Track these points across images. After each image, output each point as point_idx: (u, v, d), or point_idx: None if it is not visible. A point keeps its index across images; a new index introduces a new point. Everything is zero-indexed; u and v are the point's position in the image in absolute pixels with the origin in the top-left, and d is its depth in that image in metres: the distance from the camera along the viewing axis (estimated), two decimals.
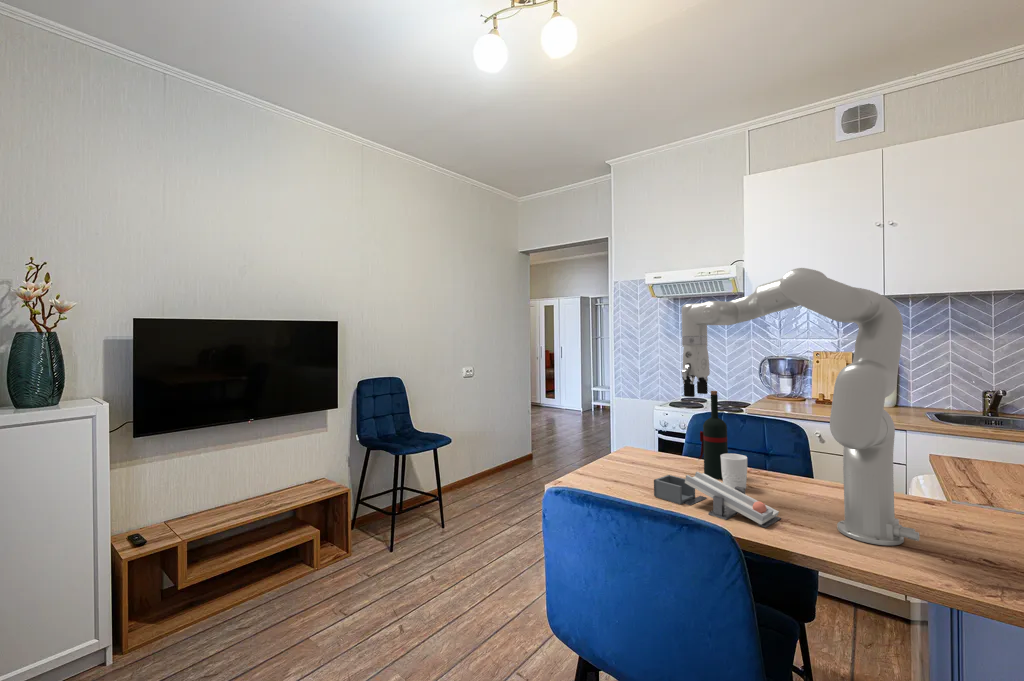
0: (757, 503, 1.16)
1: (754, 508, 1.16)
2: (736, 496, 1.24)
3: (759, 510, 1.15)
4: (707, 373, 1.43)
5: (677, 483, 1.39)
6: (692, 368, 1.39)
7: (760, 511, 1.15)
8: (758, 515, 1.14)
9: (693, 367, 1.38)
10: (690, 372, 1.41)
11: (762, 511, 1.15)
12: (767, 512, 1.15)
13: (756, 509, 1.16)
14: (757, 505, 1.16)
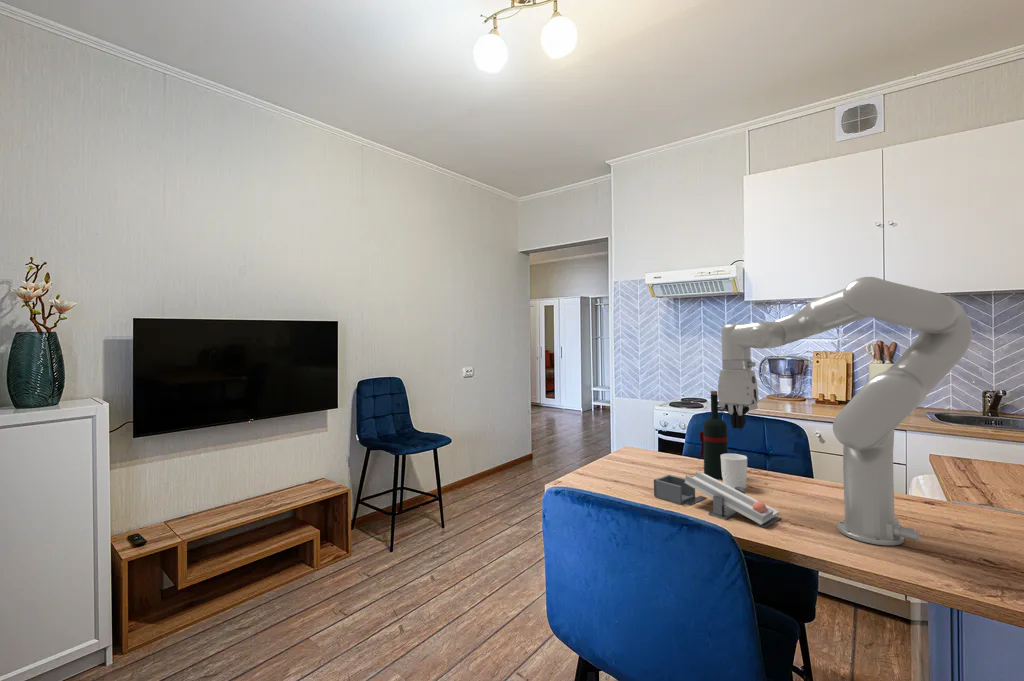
0: (757, 503, 1.16)
1: (754, 508, 1.16)
2: (736, 496, 1.24)
3: (759, 510, 1.15)
4: None
5: (677, 483, 1.39)
6: (757, 394, 1.27)
7: (760, 511, 1.15)
8: (758, 515, 1.14)
9: (757, 393, 1.28)
10: None
11: (762, 511, 1.15)
12: (767, 512, 1.15)
13: (756, 509, 1.16)
14: (757, 505, 1.16)
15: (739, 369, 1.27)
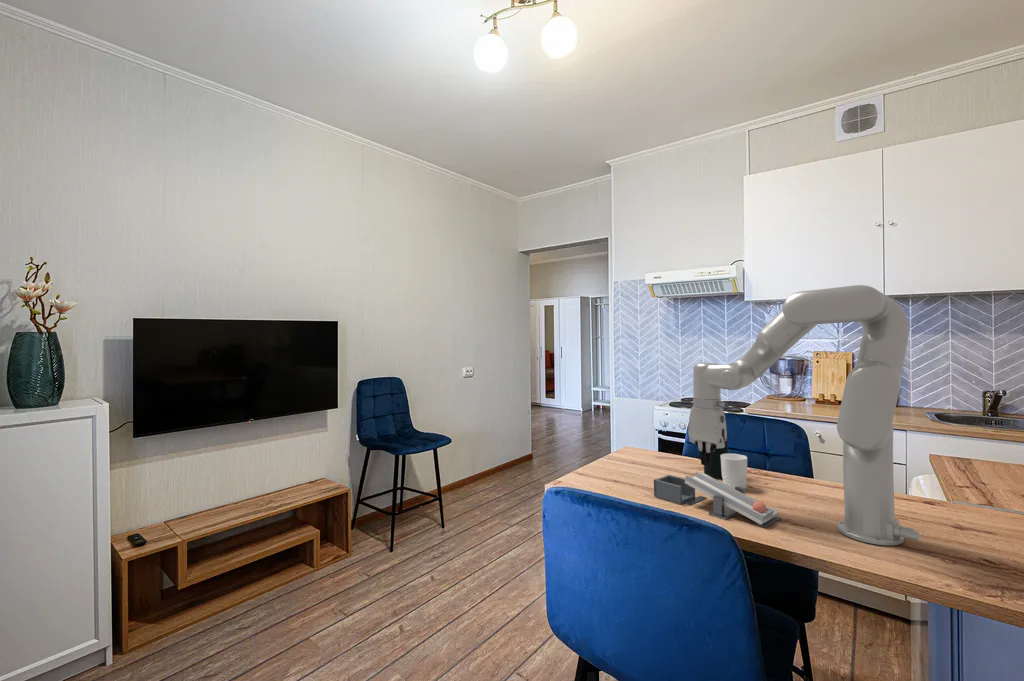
0: (757, 503, 1.16)
1: (754, 508, 1.16)
2: (736, 496, 1.24)
3: (759, 510, 1.15)
4: None
5: (677, 483, 1.39)
6: (725, 433, 1.31)
7: (760, 511, 1.15)
8: (758, 515, 1.14)
9: (725, 432, 1.31)
10: None
11: (762, 511, 1.15)
12: (767, 512, 1.15)
13: (756, 509, 1.16)
14: (757, 505, 1.16)
15: (708, 408, 1.30)
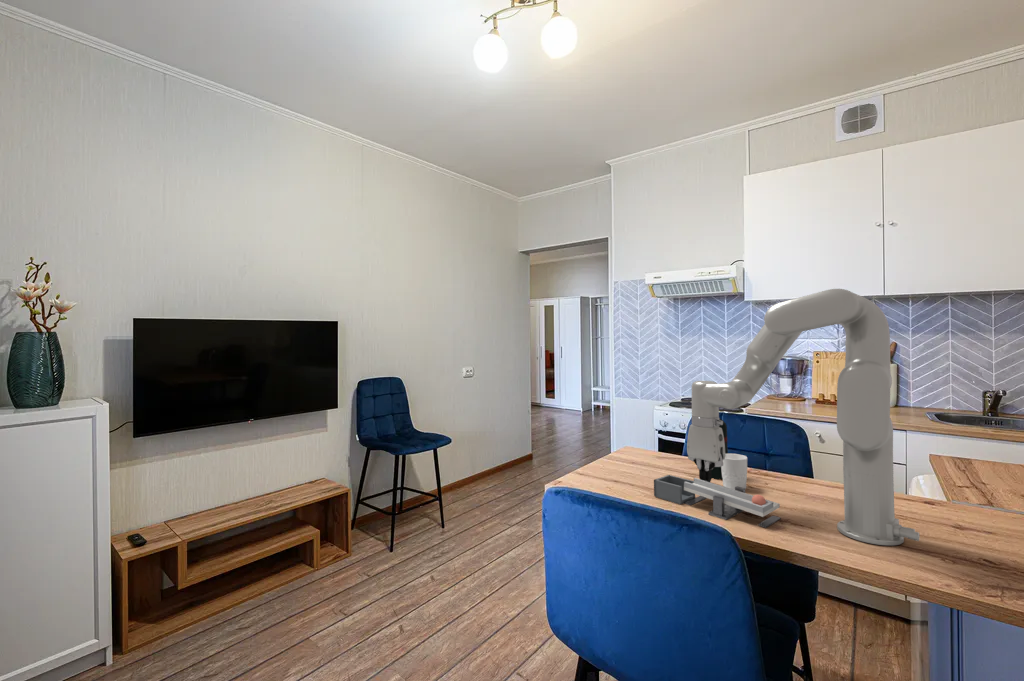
0: (755, 496, 1.17)
1: (753, 502, 1.16)
2: (736, 495, 1.24)
3: (758, 502, 1.15)
4: None
5: (677, 483, 1.39)
6: (723, 451, 1.31)
7: (760, 503, 1.15)
8: (758, 507, 1.14)
9: (724, 450, 1.31)
10: None
11: (761, 503, 1.15)
12: (767, 504, 1.15)
13: (755, 502, 1.16)
14: (756, 498, 1.16)
15: (707, 427, 1.30)
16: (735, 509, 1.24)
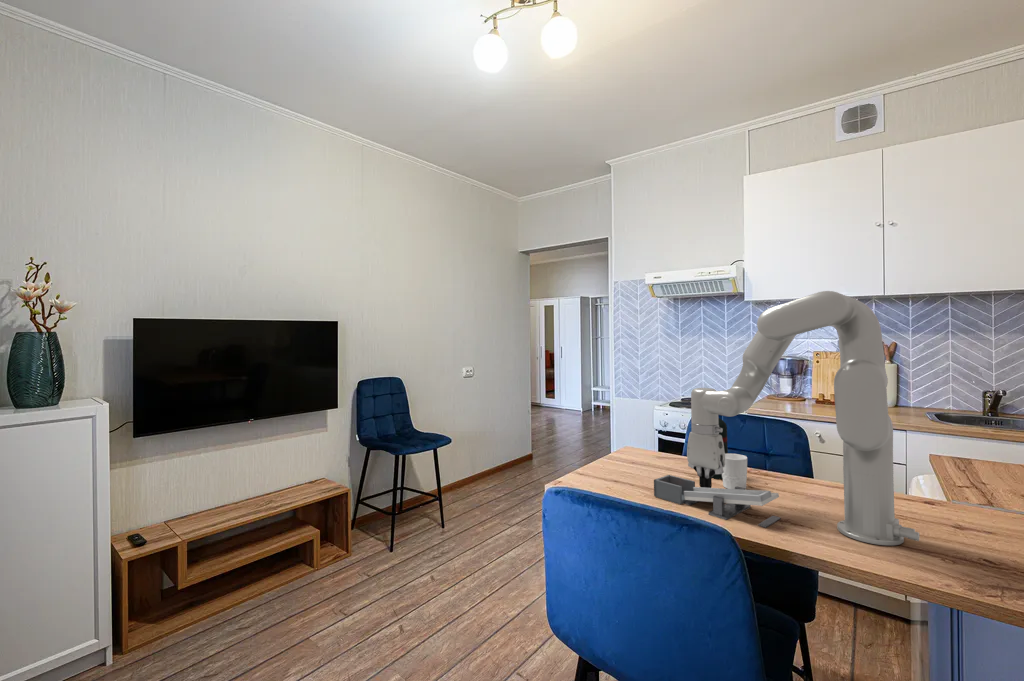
0: None
1: None
2: (735, 493, 1.24)
3: None
4: None
5: (677, 483, 1.39)
6: (723, 459, 1.31)
7: None
8: (755, 497, 1.14)
9: (724, 457, 1.31)
10: None
11: None
12: (764, 493, 1.16)
13: None
14: None
15: (706, 434, 1.31)
16: (735, 509, 1.24)
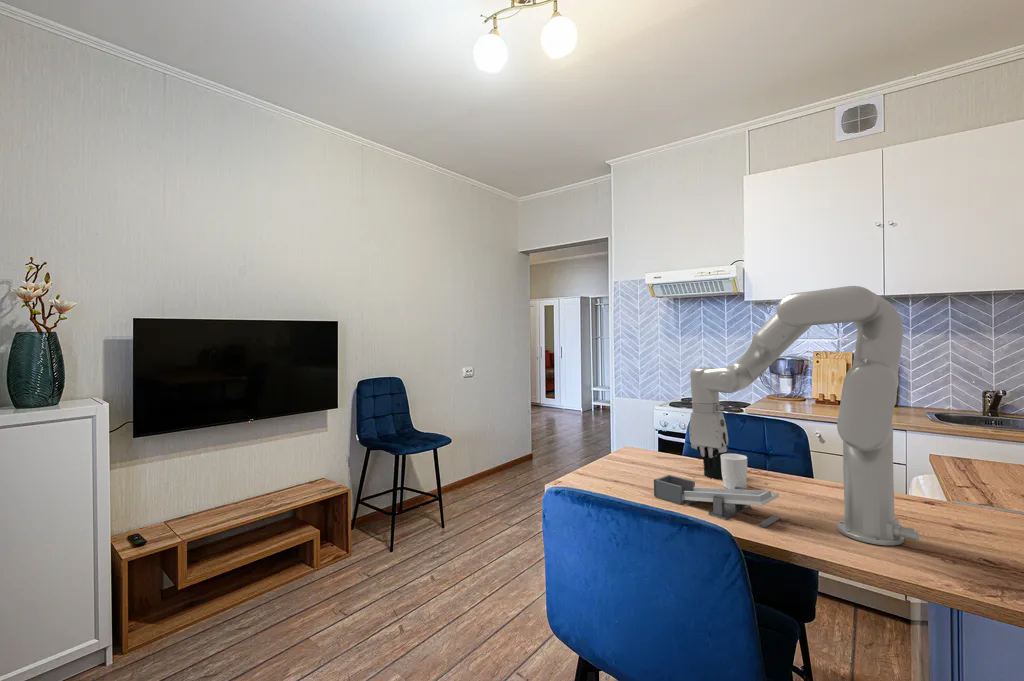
0: None
1: None
2: (735, 493, 1.24)
3: None
4: None
5: (677, 483, 1.39)
6: (726, 437, 1.30)
7: None
8: (755, 497, 1.14)
9: (726, 435, 1.30)
10: None
11: None
12: (764, 493, 1.16)
13: None
14: None
15: (708, 413, 1.30)
16: (735, 509, 1.24)
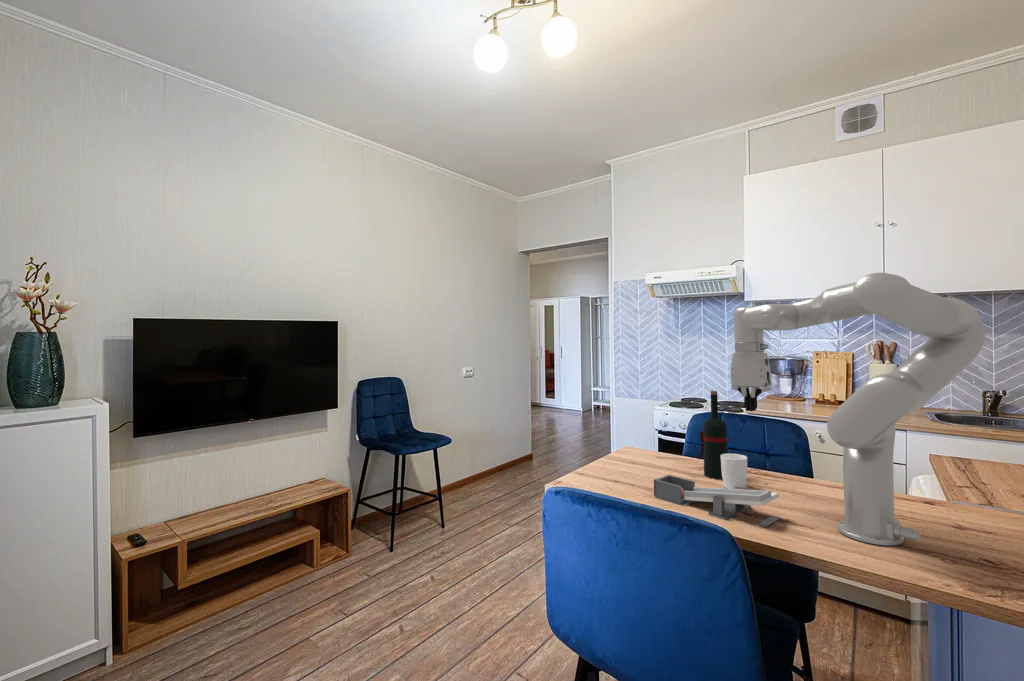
0: None
1: None
2: (735, 493, 1.24)
3: None
4: None
5: (677, 483, 1.39)
6: (770, 376, 1.28)
7: None
8: (755, 497, 1.14)
9: (770, 375, 1.29)
10: None
11: None
12: (764, 493, 1.16)
13: None
14: None
15: (752, 351, 1.28)
16: (735, 509, 1.24)
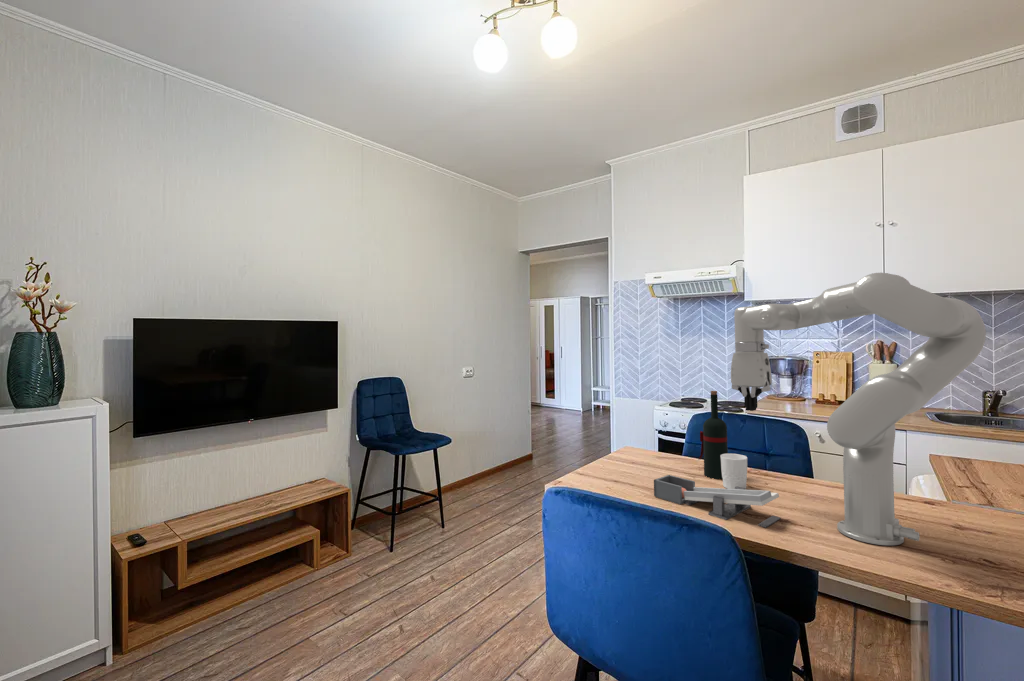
0: None
1: None
2: (735, 493, 1.24)
3: None
4: None
5: (677, 483, 1.39)
6: (770, 376, 1.28)
7: None
8: (755, 497, 1.14)
9: (770, 375, 1.29)
10: None
11: None
12: (764, 493, 1.16)
13: None
14: None
15: (752, 351, 1.28)
16: (735, 509, 1.24)
